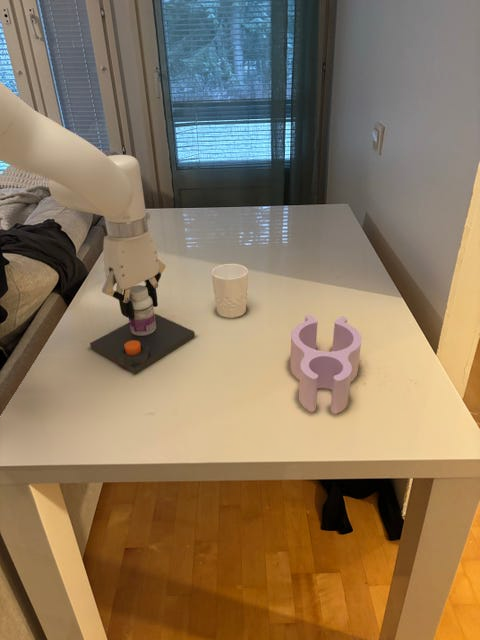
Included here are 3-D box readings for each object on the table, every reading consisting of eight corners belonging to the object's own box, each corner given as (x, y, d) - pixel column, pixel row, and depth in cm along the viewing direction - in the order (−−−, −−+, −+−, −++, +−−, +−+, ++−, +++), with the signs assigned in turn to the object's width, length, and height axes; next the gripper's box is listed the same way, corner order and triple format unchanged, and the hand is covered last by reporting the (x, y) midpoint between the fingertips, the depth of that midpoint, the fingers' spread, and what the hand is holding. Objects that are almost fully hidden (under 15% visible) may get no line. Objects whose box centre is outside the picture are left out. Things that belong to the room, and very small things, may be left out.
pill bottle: (129, 325, 100) (122, 285, 95) (154, 321, 101) (149, 281, 96) (131, 339, 95) (124, 297, 90) (157, 334, 96) (152, 293, 91)
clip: (361, 416, 76) (366, 382, 72) (285, 409, 78) (286, 376, 74) (355, 347, 93) (359, 317, 89) (292, 343, 95) (293, 313, 91)
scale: (133, 375, 87) (131, 362, 85) (89, 349, 95) (86, 337, 93) (195, 337, 98) (193, 324, 96) (150, 316, 105) (149, 305, 104)
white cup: (248, 319, 103) (247, 278, 98) (213, 319, 103) (210, 279, 98) (248, 302, 110) (248, 263, 105) (215, 302, 110) (213, 263, 105)
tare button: (132, 357, 87) (131, 350, 87) (122, 352, 89) (120, 345, 88) (144, 350, 89) (143, 343, 89) (134, 345, 91) (133, 338, 90)
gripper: (149, 210, 94) (159, 290, 103) (75, 235, 83) (94, 322, 92) (174, 217, 90) (183, 300, 99) (100, 244, 79) (118, 334, 88)
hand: (140, 309), depth 95 cm, fingers closed on pill bottle, 5 cm apart
